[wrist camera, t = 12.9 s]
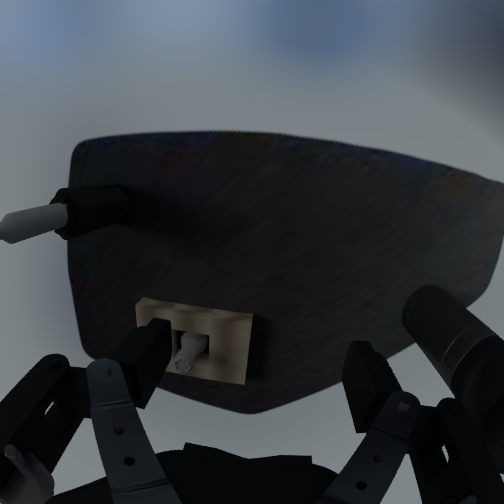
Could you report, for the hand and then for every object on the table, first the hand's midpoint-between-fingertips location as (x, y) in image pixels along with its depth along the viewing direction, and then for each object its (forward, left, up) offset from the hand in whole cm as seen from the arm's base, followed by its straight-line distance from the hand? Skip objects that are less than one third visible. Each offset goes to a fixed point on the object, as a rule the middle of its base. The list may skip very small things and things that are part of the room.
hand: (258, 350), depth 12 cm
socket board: (+10, +19, -28) cm, 35 cm away
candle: (+24, -2, -28) cm, 37 cm away
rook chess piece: (+10, +19, -28) cm, 35 cm away
